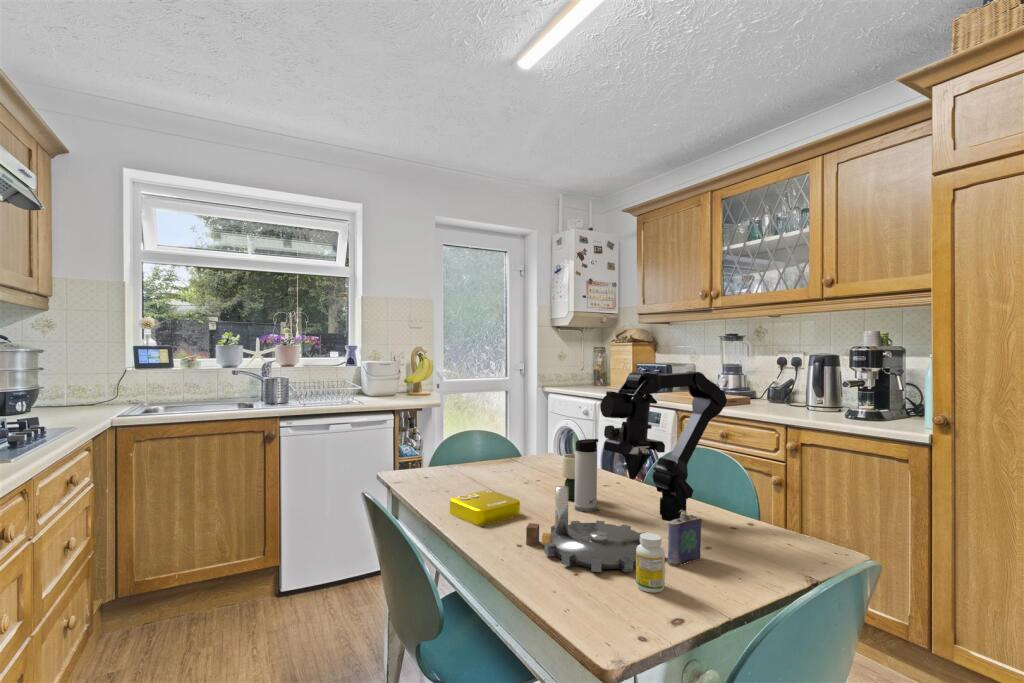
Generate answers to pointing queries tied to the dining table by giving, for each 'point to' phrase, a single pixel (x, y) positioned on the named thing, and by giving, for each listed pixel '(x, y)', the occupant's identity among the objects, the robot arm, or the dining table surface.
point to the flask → (684, 539)
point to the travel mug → (586, 475)
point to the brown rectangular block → (532, 534)
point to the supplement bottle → (650, 563)
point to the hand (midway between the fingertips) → (632, 478)
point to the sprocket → (590, 540)
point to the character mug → (569, 473)
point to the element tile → (484, 507)
